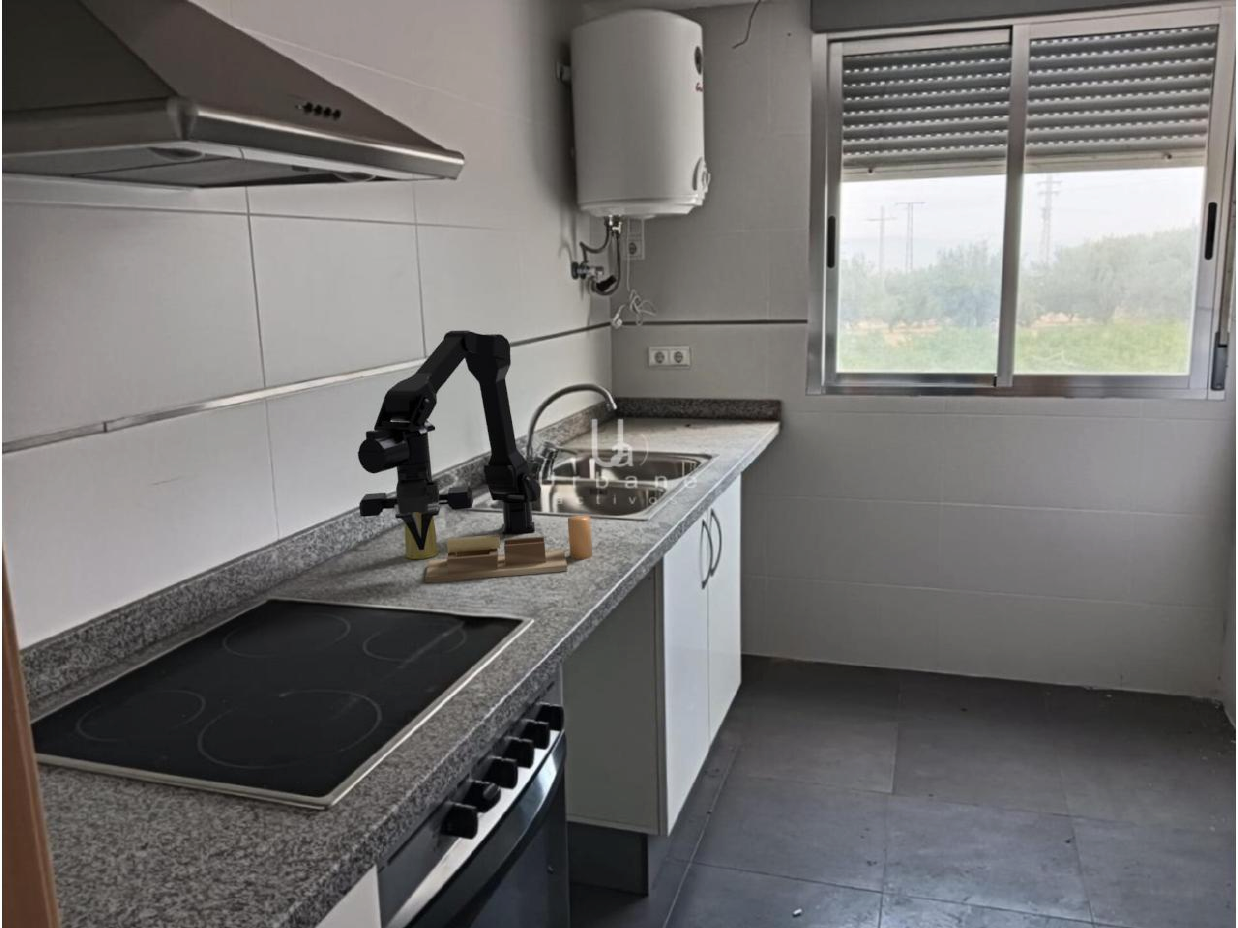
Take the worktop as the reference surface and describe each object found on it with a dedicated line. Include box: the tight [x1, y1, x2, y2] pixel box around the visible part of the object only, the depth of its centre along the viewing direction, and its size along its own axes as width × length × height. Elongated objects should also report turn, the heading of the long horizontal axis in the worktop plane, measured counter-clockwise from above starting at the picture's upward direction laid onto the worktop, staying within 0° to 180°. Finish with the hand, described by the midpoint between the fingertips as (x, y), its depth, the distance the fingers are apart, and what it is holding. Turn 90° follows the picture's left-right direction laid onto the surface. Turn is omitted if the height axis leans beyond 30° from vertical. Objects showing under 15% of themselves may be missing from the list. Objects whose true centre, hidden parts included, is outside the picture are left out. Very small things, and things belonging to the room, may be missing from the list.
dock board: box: [424, 535, 568, 584], centre depth 173 cm, size 10×24×4 cm, turn 96°
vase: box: [403, 512, 440, 560], centre depth 183 cm, size 6×6×14 cm
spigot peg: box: [567, 514, 593, 560], centre depth 178 cm, size 4×4×7 cm
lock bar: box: [446, 534, 501, 554], centre depth 172 cm, size 2×9×2 cm, turn 96°
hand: (421, 549), depth 171 cm, fingers closed
